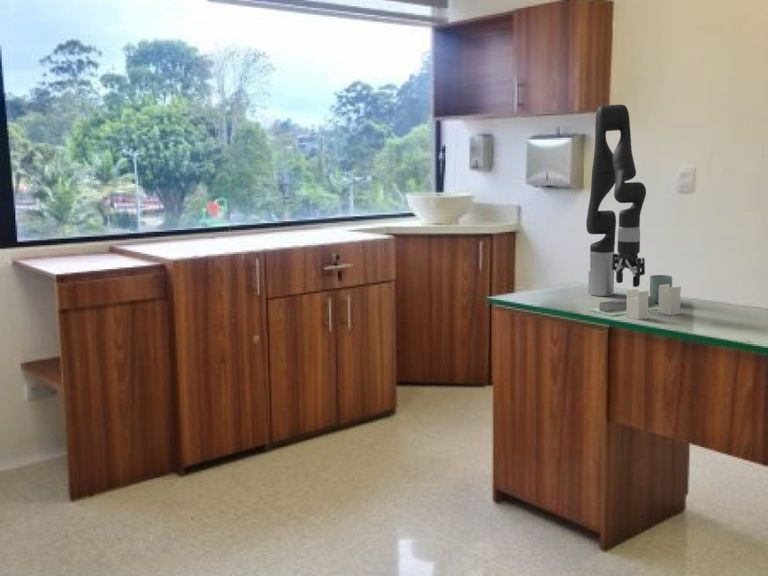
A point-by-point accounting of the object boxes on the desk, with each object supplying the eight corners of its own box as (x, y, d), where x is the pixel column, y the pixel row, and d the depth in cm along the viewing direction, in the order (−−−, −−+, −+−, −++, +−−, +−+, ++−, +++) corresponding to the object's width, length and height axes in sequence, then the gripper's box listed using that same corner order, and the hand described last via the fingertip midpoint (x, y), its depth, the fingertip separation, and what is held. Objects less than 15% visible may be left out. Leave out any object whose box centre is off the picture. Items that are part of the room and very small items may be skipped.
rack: (626, 316, 264) (626, 289, 262) (667, 310, 271) (667, 284, 269) (638, 319, 258) (639, 291, 257) (679, 313, 265) (680, 286, 263)
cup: (673, 305, 280) (674, 278, 278) (650, 305, 282) (651, 278, 280) (669, 301, 287) (670, 274, 286) (648, 301, 289) (648, 274, 287)
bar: (599, 310, 272) (599, 302, 272) (648, 304, 280) (648, 296, 280) (604, 312, 269) (605, 304, 269) (654, 305, 278) (654, 297, 277)
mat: (589, 310, 276) (589, 309, 276) (642, 303, 285) (642, 302, 285) (611, 316, 265) (611, 314, 265) (665, 308, 274) (665, 307, 274)
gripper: (606, 238, 276) (606, 282, 279) (634, 242, 263) (633, 289, 266) (623, 236, 279) (622, 280, 282) (651, 240, 266) (650, 286, 269)
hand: (627, 284), depth 274 cm, fingers open, 8 cm apart
